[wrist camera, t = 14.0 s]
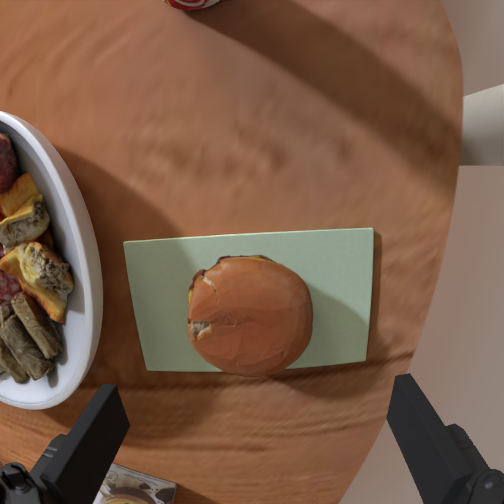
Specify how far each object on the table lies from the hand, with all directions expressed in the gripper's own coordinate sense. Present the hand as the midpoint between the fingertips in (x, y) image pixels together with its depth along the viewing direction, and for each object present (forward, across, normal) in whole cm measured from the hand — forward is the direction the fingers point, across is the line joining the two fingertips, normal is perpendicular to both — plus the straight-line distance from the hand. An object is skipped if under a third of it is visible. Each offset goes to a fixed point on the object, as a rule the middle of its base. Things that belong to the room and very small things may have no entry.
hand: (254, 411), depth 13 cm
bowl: (+13, -27, +5) cm, 30 cm away
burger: (+13, -1, 0) cm, 13 cm away
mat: (+13, -1, 0) cm, 13 cm away
